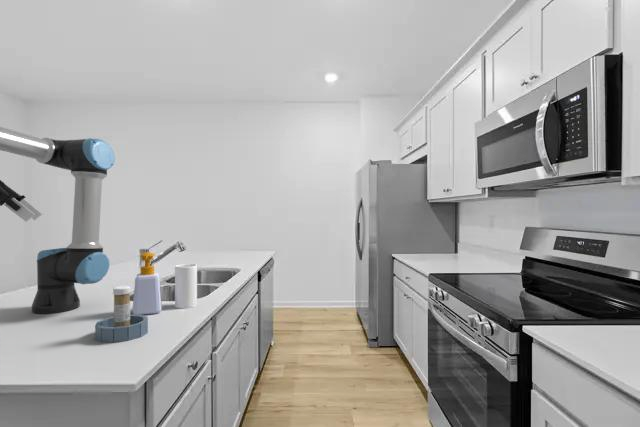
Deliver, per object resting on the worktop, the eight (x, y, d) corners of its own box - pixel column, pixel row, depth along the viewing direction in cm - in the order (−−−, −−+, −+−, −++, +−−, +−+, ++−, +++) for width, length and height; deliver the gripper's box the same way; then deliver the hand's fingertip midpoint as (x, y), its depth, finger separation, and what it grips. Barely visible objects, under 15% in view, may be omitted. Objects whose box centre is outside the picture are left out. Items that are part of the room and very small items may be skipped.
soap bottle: (130, 319, 130) (130, 255, 130) (134, 309, 143) (134, 251, 143) (160, 317, 134) (160, 254, 134) (161, 307, 147) (161, 250, 146)
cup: (184, 309, 144) (184, 267, 144) (170, 306, 148) (170, 265, 148) (201, 305, 151) (201, 265, 151) (187, 302, 155) (187, 263, 155)
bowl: (87, 335, 114) (87, 322, 114) (133, 324, 125) (133, 312, 125) (109, 345, 106) (109, 331, 105) (156, 332, 117) (156, 319, 117)
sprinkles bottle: (123, 327, 118) (123, 285, 118) (134, 329, 116) (133, 286, 116) (110, 332, 114) (109, 287, 114) (120, 334, 112) (120, 289, 112)
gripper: (-33, 175, 111) (31, 225, 118) (-68, 167, 89) (13, 229, 96) (-10, 158, 113) (51, 208, 121) (-38, 146, 91) (39, 208, 99)
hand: (34, 217), depth 109 cm, fingers open, 13 cm apart
